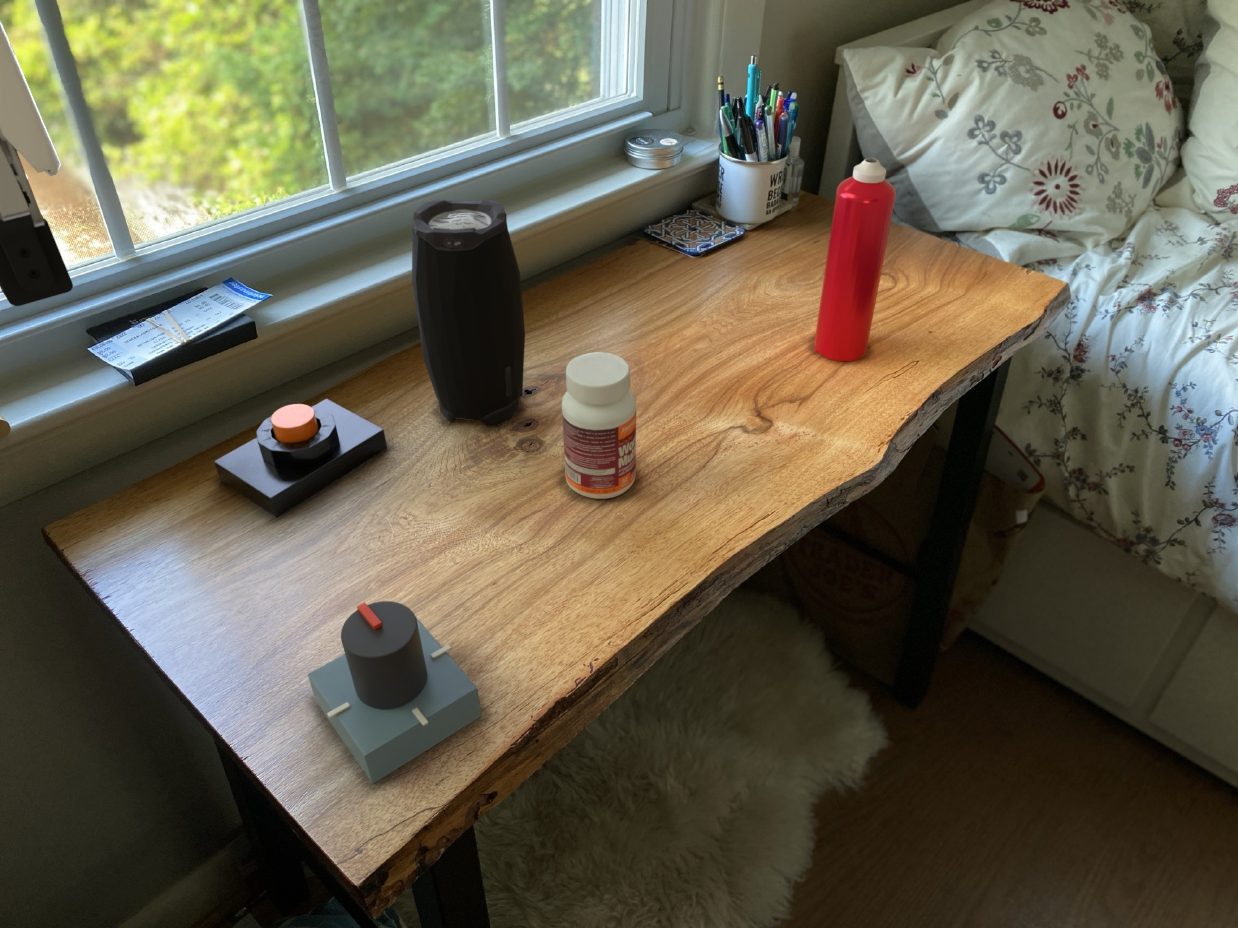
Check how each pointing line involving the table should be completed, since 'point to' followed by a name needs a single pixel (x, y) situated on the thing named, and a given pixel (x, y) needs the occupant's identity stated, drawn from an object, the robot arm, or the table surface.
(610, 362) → the pill bottle
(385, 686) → the dial
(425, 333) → the portable speaker
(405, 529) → the table surface
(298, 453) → the button block
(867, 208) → the bottle
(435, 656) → the panel
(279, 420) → the button
